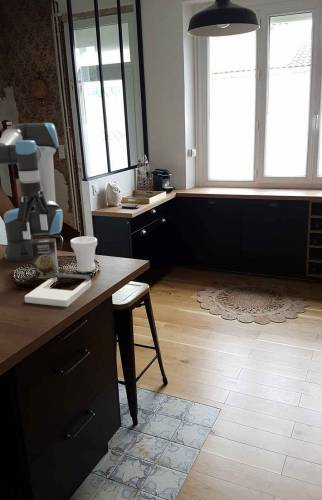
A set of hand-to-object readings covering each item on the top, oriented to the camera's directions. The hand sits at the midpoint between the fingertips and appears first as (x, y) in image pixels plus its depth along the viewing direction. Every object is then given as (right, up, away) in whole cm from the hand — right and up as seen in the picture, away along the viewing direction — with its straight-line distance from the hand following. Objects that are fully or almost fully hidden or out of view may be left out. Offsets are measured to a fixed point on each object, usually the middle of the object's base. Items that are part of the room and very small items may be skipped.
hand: (36, 234), depth 171 cm
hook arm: (+15, -20, -1) cm, 25 cm away
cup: (+18, -16, +13) cm, 27 cm away
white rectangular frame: (+12, -23, -10) cm, 28 cm away
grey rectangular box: (+3, -18, +8) cm, 20 cm away
